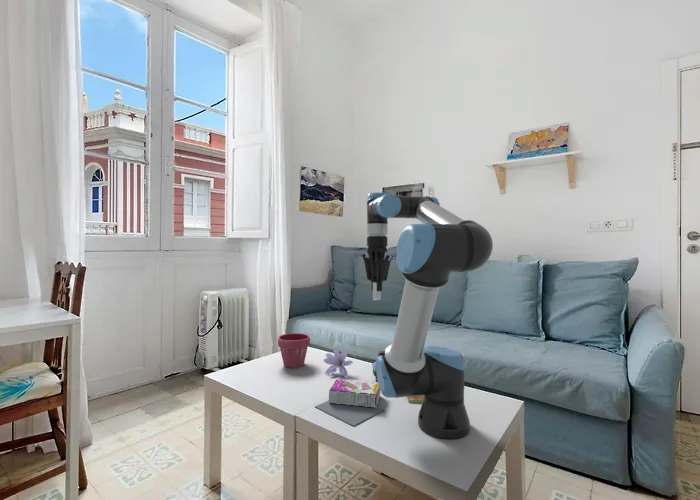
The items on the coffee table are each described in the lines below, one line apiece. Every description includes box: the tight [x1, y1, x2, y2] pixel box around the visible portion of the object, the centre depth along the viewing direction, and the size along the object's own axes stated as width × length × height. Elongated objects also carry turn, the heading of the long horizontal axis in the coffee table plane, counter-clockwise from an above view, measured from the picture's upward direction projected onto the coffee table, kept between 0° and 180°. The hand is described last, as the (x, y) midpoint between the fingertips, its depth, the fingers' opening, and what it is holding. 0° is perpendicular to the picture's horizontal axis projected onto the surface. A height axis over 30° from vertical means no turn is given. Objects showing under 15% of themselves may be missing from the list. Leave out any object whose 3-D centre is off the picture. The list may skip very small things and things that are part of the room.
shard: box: [406, 395, 424, 404], centre depth 129 cm, size 11×8×2 cm
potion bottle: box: [371, 350, 386, 382], centre depth 142 cm, size 9×9×12 cm
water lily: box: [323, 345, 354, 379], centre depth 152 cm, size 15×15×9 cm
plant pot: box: [277, 332, 311, 369], centre depth 162 cm, size 14×14×13 cm
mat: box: [314, 400, 386, 427], centre depth 119 cm, size 18×15×1 cm
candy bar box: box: [328, 378, 381, 408], centre depth 125 cm, size 11×5×16 cm
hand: (376, 299), depth 131 cm, fingers closed
